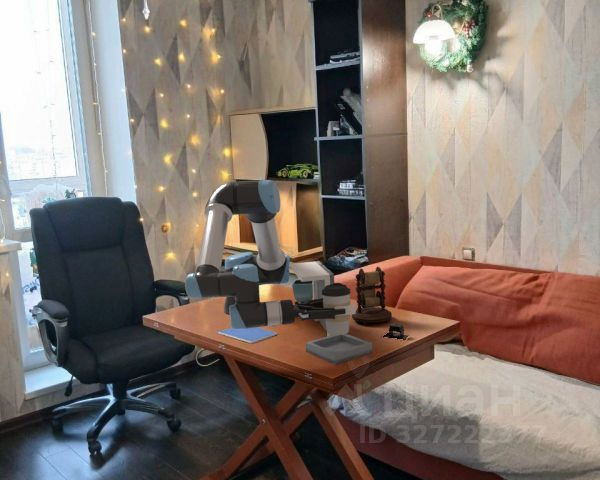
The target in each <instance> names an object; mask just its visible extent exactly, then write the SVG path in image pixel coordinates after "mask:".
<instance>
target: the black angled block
mask: <svg viewBox="0 0 600 480" xmlns="http://www.w3.org/2000/svg"><path fill="white" fill-rule="evenodd" d="M388 332H389V333H387V332H386V333H387V334H386V333H385V334H386V335H384V334H383V335H384V336H383V335H382V336H383V337H382V338H384V337H388V338H387V339H391V338H397V339H396V340H398V339H403V340H402V341H405V340H406V338H407V337H408V336H409V334H405V327H404V324H401V323H395V322H394V323H392V324H390V325H389V328H388Z"/></svg>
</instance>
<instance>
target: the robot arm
mask: <svg viewBox="0 0 600 480" xmlns="http://www.w3.org/2000/svg"><path fill="white" fill-rule="evenodd" d="M280 211H281V198H280V191H279V188H278V184H277V183H276V182H275V181H274V180H271V179H257V180H242V181H241V180H239V181H235V180H234V181H228V182H226V183H224V184H221V186H219V187H217V189H216V190H214V191H213V193H212V194H211V195H210V197H209V198H208V199H207V202H206V204H205V207H204V212H203V213H204V217H205V222H204V227H203V234H202V238H201V241H200V242H201V243H200V246H199V247H200V248H199V251H198V252H199V253H198V258H197V263H196V267H195V272H192V273H188V274H187V275H186V277H185V279H184V280H185V281H184V287H185V291H186V292H185V293H186V295H187V296H188V297H189V298H193V299H195V298H196V299H203V298H204V299H206V298H207V299H208V298H225V300H224V303H223V311H224V313H225V314H227V315H229V322H230V326H231V327H230V328H233V329H247V328H255V327H257V328H262V327H270V328H273V327H274V326H279V325H292V324H294V323H295V319H296V318H299V319H301V321H308V320H314V319H335V316H340V315H350V316H351V315H352V314H356V310H357V309H356V304H350V305H347V306H337V307H334V308H324V307H323V298H320V299H314V300H313V299H312V300H307V301H299V302H297V301H296V300H295V301H294V302H293V300H292V299H291V298H289V299H281V300H280V301H278V300H269V301H261V300H260V299H261V298H260V296H261V295H260V285H281V284H288V282H289V281H290V264H291V263H290V260H291V259H290V258H291V256H290V255H289V254H286V253H285V252H284V250H283V249H281V246H280V241H279V236H278V235H279V234H278V231H277V230H278V229H277V224H276V219H275V217H276V216H277V213H279V212H280ZM234 215H236V216H237V215H238V216H239V215H240V216H241V215H245V219H247V220H248V221H249V222H250V223H251V226H252V231H253V235H254V239H255V244H256V248H257V253H258V254H257V255H254V253H253V252H251V251H249V252H248V251H246V252H245V251H244V252H240V253H236V254H235V253H234V254H232V255H229V256H227V257H226V258H225V260H224V272H222V271H221V270H222V263H223V258H224V257H223V256H224V251H225V244H226V238H227V232H228V225H229V222H230V221H231V220H232V218H233V216H234Z"/></svg>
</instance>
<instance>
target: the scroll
mask: <svg viewBox="0 0 600 480" xmlns="http://www.w3.org/2000/svg"><path fill="white" fill-rule="evenodd" d="M385 273H386V272H385V271H383V270H382V269H381V267H380V266H377V267H376V268H375V271H366V272H365V271H364V269H363V268H360V269H359V271H358V273H357V274H355V280H356V287H355V291H356V294H357V295H356V298H357V299H356V303H357V304H356V306H357V309H355V310H356V314H351V318H352V320H354V321H356V322H359V323H360V322H362V323H363V325H364V326H366V325H367V323H380V322H385V321H387V323H390V321H391V319H392V317H393V314H392V312H391V311H390V310H389V309H387V308H386V301H385V300H386V298H387V297H386V293H385V290H386V284H385V275H386V274H385ZM379 283H380V284H379ZM379 289H380V290H381V291H379ZM376 290H377V291H376Z"/></svg>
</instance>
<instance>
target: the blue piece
mask: <svg viewBox="0 0 600 480" xmlns="http://www.w3.org/2000/svg"><path fill="white" fill-rule="evenodd" d="M217 334H218V335H220V334H221V336H224V335H225V337H228V338H231V339H235V340H238V341H242V342H245V343H248V344H256V343H259V342H262V341H264V339H265V340H267V339H271V338H273V337H276V336H277V335H278V333H277V332H276V331H271V330H269V329H264V328H262V327H255V328H247V329H233V328H232V327H229V328H226V329H223V330H220V331H217ZM275 335H276V336H275ZM272 336H273V337H272Z"/></svg>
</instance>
